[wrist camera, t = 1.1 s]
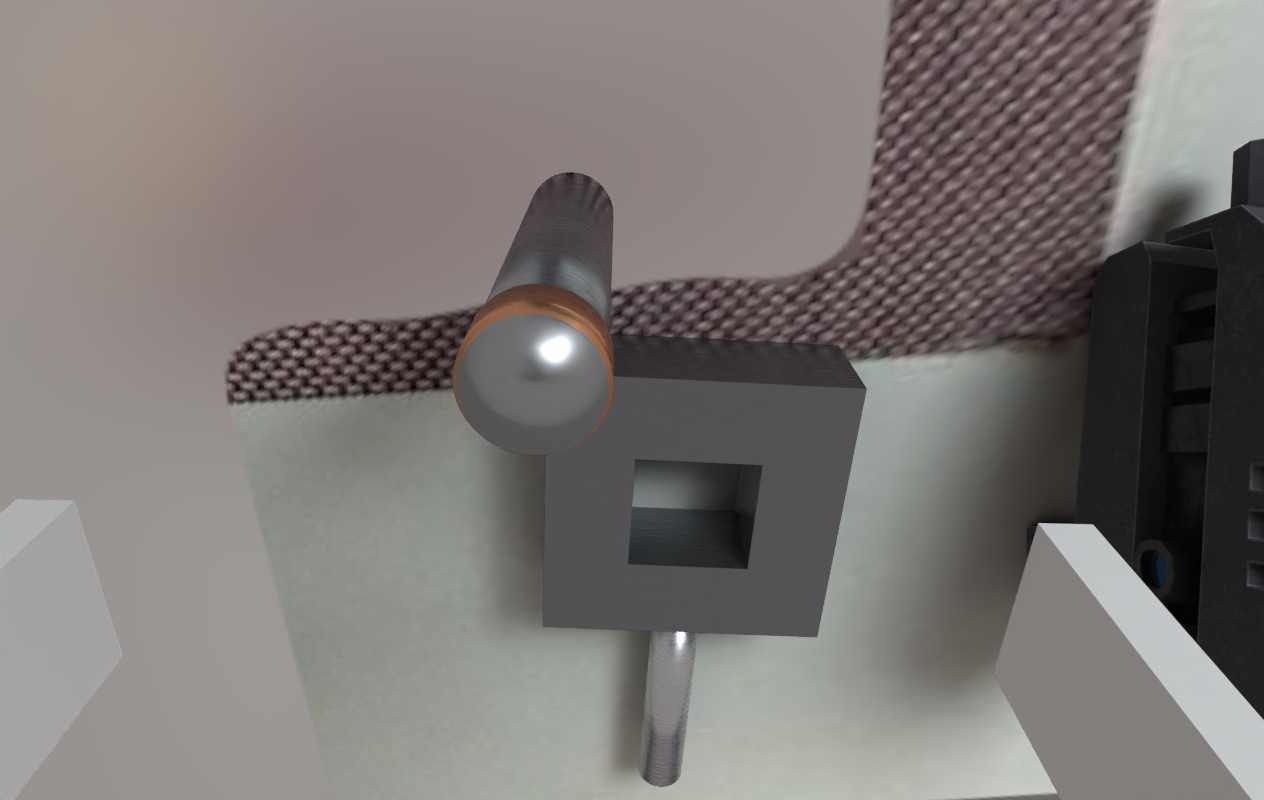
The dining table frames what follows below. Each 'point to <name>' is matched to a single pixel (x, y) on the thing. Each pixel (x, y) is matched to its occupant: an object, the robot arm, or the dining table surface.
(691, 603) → the grey holed block
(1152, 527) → the toy gun
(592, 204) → the grey metal rod
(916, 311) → the dining table surface
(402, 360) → the dining table surface
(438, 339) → the dining table surface
